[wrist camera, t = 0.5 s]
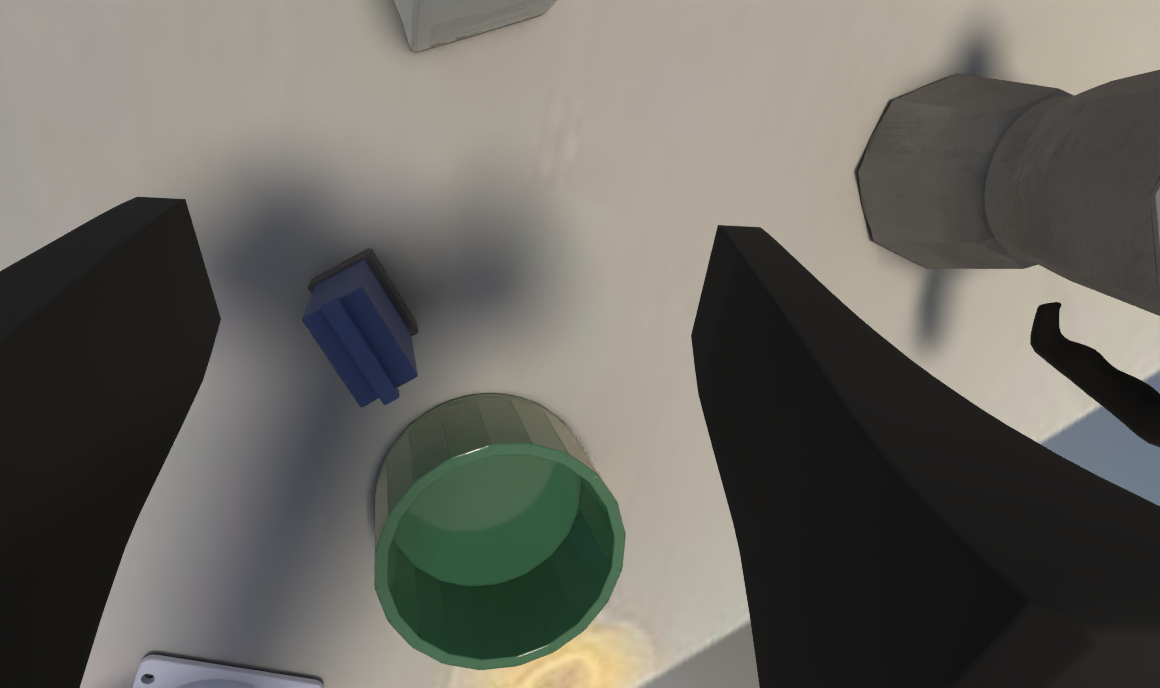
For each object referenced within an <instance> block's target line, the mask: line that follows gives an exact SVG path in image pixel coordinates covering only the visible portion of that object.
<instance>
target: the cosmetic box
mask: <svg viewBox="0 0 1160 688" xmlns="http://www.w3.org/2000/svg"><path fill="white" fill-rule="evenodd" d="M393 1H394V3H395V5H396V7H397V9H398V12H399V14H400V17H401V20H402V23H403V26H404V29H405V33H406V36H407V39H408V42H409V45H410V48H411V50H412V51H414V52H418V51H422V50H425V49H429V48H432V47H436V46H439V45H442V44H446V43H449V42H453V41H456V40H459V39H463V38H466V37H469V36H473V35H476V34H479V33H483V32H486V31H489V30H492V29H496V28H499V27H502V26H506V25H509V24H512V23H516V22H519V21H522V20H525V19H529V18H532V17H535V16H538V15H541V14H544V13H546V12H547V11H548V10H549V8H551V7H552V6H553V5H554V3H555V2H556V1H557V0H393Z"/></svg>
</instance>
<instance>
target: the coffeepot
mask: <svg viewBox="0 0 1160 688" xmlns="http://www.w3.org/2000/svg"><path fill="white" fill-rule="evenodd" d="M858 175H859V185H860V193H861V201H862V207H863V210H864V213H865V217H866V220H867V222H868V224H869V226H870V228H871V232H872V237H873V241H874V242H876V243H878V244H880V245H882V246H884V247H886V248H888V249H889V250H891V251H893V252H894V253H896V254H898V255H901V256H903V257H905V258H907V259H909V260H911V261H913V262H915V263H917V264H919V265H921V266H923V267H925V268H973V269H1024V268H1028V267H1031V266H1034V265H1038V264H1039V265H1041V266H1043V267H1045V268H1046V269H1048V270H1050V271H1052V272H1054V273H1056V274H1058V275H1060V276H1062V277H1064V278H1066V279H1068V280H1070V281H1073V282H1075V283H1078V284H1080V285H1083V286H1085V287H1088V288H1090V289H1093V290H1095V291H1098V292H1101V293H1103V294H1106V295H1108V296H1111V297H1113V298H1116V299H1118V300H1121V301H1123V302H1126V303H1129V304H1131V305H1134V306H1136V307H1139V308H1141V309H1144V310H1146V311H1149V312H1151V313H1154V314H1156V315H1159V316H1160V70H1157V71H1153V72H1148V73H1144V74H1140V75H1135V76H1131V77H1127V78H1123V79H1118V80H1114V81H1111V82H1108V83H1105V84H1103V85H1100V86H1097V87H1095V88H1092V89H1090V90H1087V91H1085V92H1082V93H1080V94H1078V95H1075V96H1073V95H1071V94H1069V93H1067V92H1065V91H1063V90H1060V89H1058V88H1051V87H1044V86H1038V85H1031V84H1024V83H1017V82H1011V81H1004V80H997V79H990V78H983V77H977V76H970V75H963V74H955V75H953V76H950V77H948V78H945V79H943V80H940V81H938V82H935V83H932V84H929V85H926V86H923V87H921V88H919V89H917V90H915V91H913V92H911V93H909V94H907V95H904V96H902V97H900V98H897V99H895V100H893V101H892V103H891V104H890V106H889V108H888V109H887V111H886V113H885V114H884V116H883V118H882V119H881V121H880V123H879V124H878V126H877V128H876V129H875V131H874V133H873V134H872V136H871V139H870V141H869V144H868V146H867V149H866V151H865V154H864V159H863V163H862V165H861V167H860V169H859V171H858ZM1060 307H1061V303H1058V302H1054V303H1047V304H1042V305H1040V306H1039V307H1038V309H1037V312H1036V315H1035V319H1034V322H1033V327H1032V331H1031V342H1030V344H1031V346H1032V347H1033V349H1034V351H1035V352H1036V353H1037V354H1038V355H1039V356H1041V357H1042V358H1043V359H1044V360H1046V361H1047V362H1048V363H1049V364H1050V365H1052V366H1053V367H1054V368H1055V369H1057V370H1058V371H1059V372H1060V373H1062V374H1063V375H1064V376H1066V377H1067V378H1068V379H1070V380H1071V381H1072V382H1073V383H1074V384H1076V385H1077V386H1078V387H1079V388H1081V389H1082V390H1083V391H1084V392H1085V393H1086V394H1088V395H1089V396H1090V397H1092V398H1093V399H1094V400H1095V401H1097V402H1098V403H1099V404H1100V405H1102V406H1103V407H1104V408H1106V409H1107V410H1108V411H1110V412H1111V413H1112V414H1113V415H1114V416H1115V417H1117V418H1118V419H1119V420H1120V421H1121V422H1123V423H1124V424H1125V425H1126V426H1127V427H1129V429H1131V430H1132V431H1133V432H1134V433H1135V434H1136V435H1138V436H1139V437H1141V438H1142V439H1143V440H1145V441H1146V442H1148V443H1149V444H1152V445H1155V446H1158V447H1160V394H1159V393H1158V392H1157V391H1156V390H1155V389H1153V388H1152V387H1151V386H1149V385H1148V384H1146V383H1144V382H1143V381H1141V380H1139V379H1137V378H1135V377H1133V376H1131V375H1128V374H1126V373H1124V372H1122V371H1119V370H1117V369H1116V368H1115V367H1113V366H1112V365H1111V364H1110V363H1108V362H1107V361H1106V360H1105V359H1104V357H1103V356H1102V355H1101V354H1100V353H1098V352H1097V351H1096V350H1095V349H1093V348H1090V347H1088V346H1086V345H1083V344H1080V343H1076V342H1073V341H1070V340H1068V339H1066V338H1065V337H1064V336H1063V335H1062V334H1061V332H1060V328H1059V309H1060Z"/></svg>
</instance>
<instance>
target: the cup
mask: <svg viewBox="0 0 1160 688" xmlns="http://www.w3.org/2000/svg"><path fill="white" fill-rule="evenodd" d="M624 546H625V530H624V526H623V522H622V518H621V514H620V510H619V506H618V503H617V501H616V499H615V497H614V496H613V494H612V493H611V491H610V490H609V488H608V487H607V485H606V484H605V482H604V481H603V479H602V477H601V476H600V474H599V473H598V471H597V470H596V468H595V467H594V465H593V464H592V462H591V461H590V459H589V457H588V456H587V454H586V453H585V451H584V450H583V448H582V447H581V445H580V444H579V443H578V441H577V440H576V438H575V437H574V435H573V434H572V432H571V431H570V430H569V428H568V427H567V426H566V425H565V424H564V423H563V422H562V421H561V420H560V419H559V418H558V417H557V416H555V415H554V414H553V413H551V412H550V411H549V410H547V409H546V408H544V407H542V406H540V405H538V404H536V403H534V402H531V401H529V400H526V399H523V398H520V397H515V396H511V395H503V394H478V395H471V396H465V397H462V398H458V399H455V400H451V401H449V402H447V403H444V404H442V405H439V406H437V407H436V408H434V409H432V410H430V411H429V412H427V413H425V414H424V415H422V416H421V417H420V418H418V419H417V420H416V421H414V422H413V423H412V424H411V425H410V426H409V427H408V428H407V429H406V430H405V431H404V432H403V433H402V434H401V435H400V436H399V438H398V439H397V440H396V441H395V443H394V444H393V446H392V447H391V449H390V451H389V452H388V454H387V456H386V458H385V460H384V462H383V465H382V467H381V470H380V473H379V477H378V480H377V486H376V490H375V590H376V593H377V595H378V598H379V600H380V603H381V605H382V608H383V611H384V613H385V616H386V618H387V620H388V622H389V623H390V624H391V625H392V626H393V627H394V628H395V630H396V631H397V632H398V633H399V634H400V635H401V636H402V637H403V638H404V639H405V640H406V641H407V643H408V644H409V645H410V646H411V647H413V648H414V649H416V650H418V651H420V652H422V653H424V654H426V655H428V656H430V657H432V658H433V659H435V660H437V661H439V662H441V663H444V664H448V665H453V666H459V667H465V668H471V669H477V670H480V669H481V670H486V669H495V668H505V667H514V666H519V665H522V664H525V663H527V662H530V661H532V660H535V659H538V658H540V657H543V656H545V655H548V654H551V653H553V651H554V652H555V651H556V650H558V649H559V648H561V647H562V646H563V645H565V644H566V643H568V642H569V641H570V640H572V639H573V638H575V637H576V636H577V635H579V634H580V633H582V632H583V631H584V630H585V629H586V628H587V627H588V626H589V624H590V623H591V622H592V621H593V620H594V618H595V617H596V616H597V615H598V613H599V612H600V611H601V610H602V609H603V607H604V606H605V605H606V604H607V602H608V601H609V599H610V596H611V594H612V592H613V589H614V587H615V585H616V582H617V580H618V578H619V575H620V573H621V571H622V567H623V556H624Z"/></svg>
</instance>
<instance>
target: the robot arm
mask: <svg viewBox="0 0 1160 688" xmlns="http://www.w3.org/2000/svg"><path fill="white" fill-rule="evenodd" d="M220 320H221V318H220V315H219V311H218V308H217V305H216V301H215V298H214V294H213V291H212V288H211V284H210V281H209V278H208V274H207V271H206V268H205V264H204V261H203V257H202V254H201V251H200V247H199V244H198V241H197V237H196V234H195V231H194V227H193V224H192V220H191V217H190V214H189V210H188V207H187V204H186V200H185V199H169V198H149V197H136V198H134V199H131V200H129V201H127V202H125V203H122V204H120V205H118V206H116V207H114V208H112V209H110V210H108V211H107V212H105V213H103V214H101V215H99V216H97V217H95V218H94V219H92V220H90V221H88V222H86V223H85V224H83V225H81V226H79V227H78V228H76V229H74V230H72V231H71V232H69V233H67V234H65V235H64V236H62V237H60V238H58V239H57V240H55V241H53V242H51V243H50V244H48V245H46V246H44V247H42V248H41V249H39V250H37V251H35V252H34V253H32V254H30V255H28V256H27V257H25V258H23V259H21V260H20V261H18V262H16V263H14V264H12V265H11V266H9V267H7V268H5V269H4V270H2V271H0V688H80V684H81V681H82V678H83V675H84V672H85V668H86V665H87V662H88V659H89V655H90V652H91V649H92V646H93V642H94V639H95V636H96V633H97V630H98V626H99V623H100V620H101V617H102V614H103V611H104V608H105V605H106V602H107V599H108V596H109V593H110V590H111V587H112V584H113V582H114V579H115V576H116V573H117V570H118V567H119V564H120V561H121V558H122V555H123V552H124V550H125V547H126V544H127V542H128V540H129V537H130V535H131V533H132V530H133V528H134V525H135V523H136V521H137V518H138V516H139V514H140V512H141V510H142V508H143V506H144V503H145V501H146V499H147V497H148V495H149V493H150V491H151V489H152V487H153V485H154V483H155V481H156V478H157V476H158V474H159V472H160V470H161V468H162V466H163V464H164V462H165V460H166V458H167V456H168V454H169V451H170V449H171V447H172V445H173V443H174V441H175V439H176V437H177V435H178V433H179V431H180V429H181V426H182V424H183V422H184V420H185V418H186V416H187V414H188V412H189V409H190V407H191V405H192V403H193V401H194V399H195V397H196V394H197V392H198V390H199V388H200V385H201V383H202V381H203V378H204V375H205V372H206V369H207V365H208V362H209V359H210V356H211V353H212V349H213V345H214V342H215V338H216V335H217V331H218V327H219V324H220ZM691 337H692V346H693V355H694V364H695V372H696V379H697V386H698V393H699V398H700V402H701V406H702V409H703V413H704V417H705V421H706V425H707V428H708V432H709V436H710V440H711V443H712V447H713V451H714V454H715V458H716V462H717V465H718V469H719V472H720V476H721V480H722V483H723V487H724V491H725V494H726V498H727V502H728V505H729V509H730V513H731V516H732V520H733V524H734V528H735V533H736V537H737V542H738V546H739V551H740V556H741V562H742V569H743V575H744V581H745V588H746V594H747V600H748V607H749V613H750V620H751V627H752V634H753V642H754V649H755V655H756V663H757V670H758V677H759V686H760V688H1160V506H1158V505H1156V504H1154V503H1152V502H1150V501H1148V500H1146V499H1144V498H1142V497H1140V496H1138V495H1136V494H1134V493H1132V492H1130V491H1127V490H1125V489H1123V488H1121V487H1119V486H1117V485H1115V484H1113V483H1111V482H1109V481H1107V480H1105V479H1103V478H1101V477H1099V476H1097V475H1095V474H1093V473H1091V472H1090V471H1088V470H1086V469H1084V468H1082V467H1080V466H1078V465H1076V464H1074V463H1073V462H1071V461H1069V460H1066V459H1065V458H1063V457H1061V456H1060V455H1058V454H1056V453H1054V452H1052V451H1051V450H1049V449H1047V448H1046V447H1044V446H1042V445H1040V444H1039V443H1037V442H1035V441H1033V440H1032V439H1030V438H1028V437H1027V436H1025V435H1023V434H1021V433H1020V432H1018V431H1016V430H1015V429H1013V428H1011V427H1009V426H1008V425H1006V424H1004V423H1003V422H1001V421H1000V420H998V419H996V418H995V417H993V416H992V415H990V414H988V413H987V412H985V411H984V410H982V409H980V408H979V407H977V406H976V405H974V404H973V403H971V402H970V401H968V400H967V399H966V398H964V397H963V396H961V395H960V394H958V393H957V392H955V391H954V390H952V389H951V388H949V387H948V386H947V385H945V384H944V383H942V382H941V381H939V380H938V379H936V378H935V377H933V376H932V375H931V374H929V373H928V372H927V371H925V370H924V369H923V368H921V367H920V366H918V365H917V364H916V363H914V362H913V361H912V360H911V359H909V358H908V357H907V356H905V355H904V354H903V353H902V352H900V351H899V350H898V349H897V348H896V347H894V346H893V345H892V344H891V343H889V342H888V341H887V340H886V339H884V338H883V337H882V336H881V335H879V334H878V333H877V332H876V331H874V330H873V329H872V328H871V327H870V326H869V325H867V324H866V323H865V322H864V321H863V320H862V319H860V318H859V317H858V316H857V315H856V314H855V313H853V312H852V311H851V310H850V309H849V308H848V307H847V306H846V305H844V304H843V303H842V302H841V301H840V300H839V299H838V298H837V297H836V296H835V295H833V294H832V293H831V292H830V291H829V290H828V289H827V288H826V287H825V286H824V285H823V284H822V283H820V282H819V281H818V280H817V279H816V278H815V277H814V276H813V275H812V274H811V273H810V272H809V271H808V270H807V269H806V268H805V267H803V266H802V265H801V264H800V263H799V262H798V261H797V260H796V259H795V258H794V257H793V256H792V255H791V254H790V253H789V252H788V251H787V250H785V249H784V248H783V247H782V246H781V245H780V244H779V243H778V242H777V241H776V240H775V239H774V238H772V237H771V236H770V235H769V234H768V233H767V232H765V231H764V230H763V229H762V228H760V227H743V226H722V225H718V227H717V231H716V236H715V240H714V244H713V248H712V252H711V256H710V260H709V264H708V269H707V273H706V277H705V281H704V285H703V289H702V293H701V297H700V302H699V306H698V310H697V314H696V318H695V322H694V326H693V330H692V335H691ZM145 674H151V675H153V678H147V677H145V676H144V675H145ZM132 688H324V686H323V684H322V683H321V682H320V681H318V680H315V679H309V678H302V677H296V676H290V675H283V674H277V673H270V672H264V671H258V670H251V669H245V668H238V667H232V666H226V665H219V664H213V663H206V662H200V661H194V660H187V659H181V658H174V657H168V656H162V655H148V656H146V657H145V658H143V659H142V661H141V663H140V665H139V667H138V671H137V674H136V677H135V680H134V683H133V686H132Z"/></svg>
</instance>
